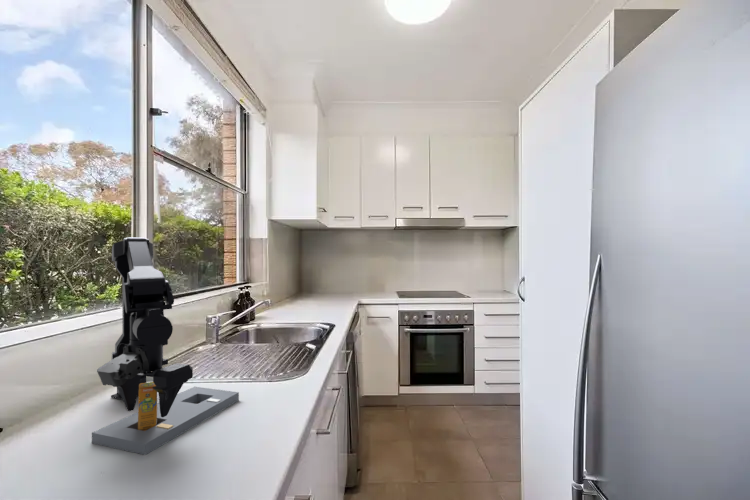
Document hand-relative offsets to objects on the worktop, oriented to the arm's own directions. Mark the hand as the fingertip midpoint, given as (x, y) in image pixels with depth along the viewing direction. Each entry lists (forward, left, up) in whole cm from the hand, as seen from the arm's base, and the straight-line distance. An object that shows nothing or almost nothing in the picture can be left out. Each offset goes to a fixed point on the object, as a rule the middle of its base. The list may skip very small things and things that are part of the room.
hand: (147, 413), depth 72 cm
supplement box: (0, 0, -4) cm, 4 cm away
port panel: (0, +6, -4) cm, 8 cm away
